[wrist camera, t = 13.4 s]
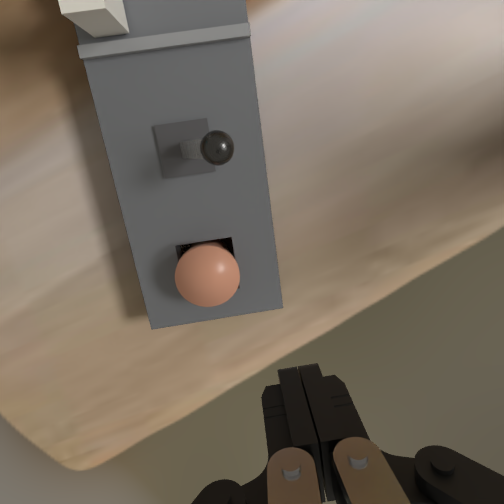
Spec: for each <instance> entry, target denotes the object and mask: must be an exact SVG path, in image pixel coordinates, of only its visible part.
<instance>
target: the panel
mask: <svg viewBox="0 0 504 504" xmlns="http://www.w3.org/2000/svg"><path fill="white" fill-rule="evenodd" d="M123 5H124V10H125V14H126V19H127V24H128V28H129V33H128V34H120V35H113V36H105V37H98V38H94V37H93V36H92V35H90V34H89V33H87V32H86V31H85V30H83V29H82V28H81V27H79V26H78V25H76V24H75V23H74V25H75V29H76V33H77V37H78V41H79V45H77V49H78V53H79V57H80V59H82V60H83V61H84V65H85V69H86V73H87V77H88V81H89V85H90V89H91V92H92V96H93V100H94V104H95V108H96V112H97V116H98V120H99V124H100V128H101V132H102V136H103V140H104V144H105V148H106V152H107V156H108V160H109V164H110V167H111V171H112V175H113V179H114V183H115V187H116V191H117V195H118V199H119V203H120V207H121V211H122V215H123V219H124V223H125V227H126V231H127V235H128V239H129V243H130V246H131V250H132V254H133V258H134V262H135V266H136V270H137V274H138V278H139V282H140V286H141V290H142V294H143V298H144V302H145V306H146V310H147V314H148V318H149V321H150V325H151V329H158V328H164V327H170V326H176V325H183V324H189V323H195V322H201V321H207V320H213V319H219V318H225V317H231V316H237V315H243V314H250V313H256V312H262V311H268V310H274V309H280V308H283V303H282V295H281V287H280V279H279V271H278V262H277V254H276V246H275V238H274V230H273V222H272V213H271V205H270V197H269V189H268V181H267V172H266V164H265V156H264V148H263V140H262V132H261V123H260V115H259V107H258V99H257V91H256V83H255V74H254V66H253V58H252V50H251V42H250V36H251V33H250V25H249V23H248V17H247V9H246V1H245V0H123ZM213 130H221V131H224V132H226V133H227V134H228V135H229V136H230V137H231V138H232V140H233V142H234V154H233V157H232V158H231V160H230V161H229V162H227V163H226V164H224V165H220V166H216V165H212V164H209V163H208V162H207V161H205V159H191V158H182V153H181V147H180V142H182V141H188V140H194V139H202V138H203V137H204V136H205V135H206V134H207V133H208V132H210V131H213ZM228 237H232V243H233V249H234V255H235V259H236V261H237V264H238V267H239V272H240V281H239V285H238V288H237V290H236V292H235V293H234V295H233V296H232V297H231V298H230V299H229V300H227V301H226V302H224V303H222V304H220V305H217V306H213V307H202V306H197V305H195V304H192V303H190V302H189V301H187V300H186V299H185V298H184V297H183V296H182V295H181V294H180V292H179V291H178V289H177V287H176V283H175V271H176V267H177V264H178V262H179V260H180V258H181V256H182V251H181V246H180V245H183V244H189V243H195V242H202V241H208V240H215V239H221V238H228Z"/></svg>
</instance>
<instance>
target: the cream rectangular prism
mask: <svg viewBox="0 0 504 504" xmlns="http://www.w3.org/2000/svg"><path fill="white" fill-rule="evenodd" d="M58 2H59V6H60V10H61V14H62V15H64V16H65V17H67V18H68V19H69V20H71V21H72V22H74V23H75V24H76V25H78V26H79V27H81V28H82V29H83V30H85V31H86V32H87V33H89V34H90V35H92V36H93V37H94V38H98V37H105V36H113V35H120V34H128V33H129V28H128V24H127V19H126V14H125V10H124V5H123V0H58Z"/></svg>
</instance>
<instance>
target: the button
mask: <svg viewBox="0 0 504 504" xmlns="http://www.w3.org/2000/svg"><path fill="white" fill-rule="evenodd" d="M239 281H240V272H239V267H238V264H237V261H236V259H235V258H234V256H233V255H232V254H231V253H230V252H229V249H228V247H227V246H226V245H225V244H224V243H223V242H222V241H220V240H218V239H215V240H208V241H202V242H195V243H193V244H192V245H191V246H190V248H189V250H187V251H186V252H185V253H184V254H183V255H182V256H181V258H180V260H179V262H178V264H177V267H176V271H175V283H176V287H177V289H178V291H179V292H180V294H181V295H182V296H183V297H184V298H185V299H186V300H187V301H189V302H190V303H192V304H195V305H197V306H202V307H213V306H217V305H220V304H222V303H224V302H226V301H227V300H229V299H230V298H231V297H232V296H233V295H234V293H235V292H236V290H237V288H238V285H239Z"/></svg>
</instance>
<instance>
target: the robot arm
mask: <svg viewBox="0 0 504 504" xmlns="http://www.w3.org/2000/svg"><path fill="white" fill-rule="evenodd" d="M278 377H279V383H280V384H277V385H271V386H266V387H265V390H264V392H263V394H262V397H261V398H262V406H263V414H264V422H265V431H266V438H267V446H268V463H267V465H266V467H265V469H264V471H263V472H262V473H261V474H260V475H259V476H258V477H257V478H255V479H254V480H252V481H250V482H249V483H247V484H245V485H242V486H240V485H239V484H238V483H236V482H234V481H232V480H225V479H224V480H218V481H215V482H212V483H211V484H209V485H207V486H206V487H205V488H204V489H203V490H202V491H201V492H200V494H199V495H198V496H197V497H196V499H195V500H194V501H193V502H192V504H322V503H323V502H325V494H324V490H325V493H326V497H327V501H334V500H336V503H337V504H504V476H502V475H501V474H498V473H497V472H495V471H492V470H491V469H489V468H487V467H485V466H483V465H481V464H479V463H477V462H475V461H473V460H471V459H469V458H467V457H465V456H463V455H462V454H459V453H458V452H456V451H454V450H452V449H449V448H446V447H442V446H427V447H424V448H422V449H420V450H419V451H418V452H417V454H416V455H415V458H409V457H401V456H394V455H391V454H388V453H385V452H383V451H382V450H380V449H379V448H378V447H377V445H376V444H374V443H373V442H371V440H370V439H369V437H368V435H367V432H366V430H365V428H364V426H363V423H362V421H361V419H360V417H359V415H358V412H357V410H356V409H355V406H354V404H353V401H352V399H351V397H350V395H349V392H348V390H347V388H346V386H345V383H344V382H342V381H341V380H340V379H339V378H338V377H337V376H335V375H331V376H325V377H323V376H322V373H321V371H320V368H319V366H318V364H317V363H315V364H309V365H304V366H298V369H297V367H292V368H285V369H279V370H278Z"/></svg>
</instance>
